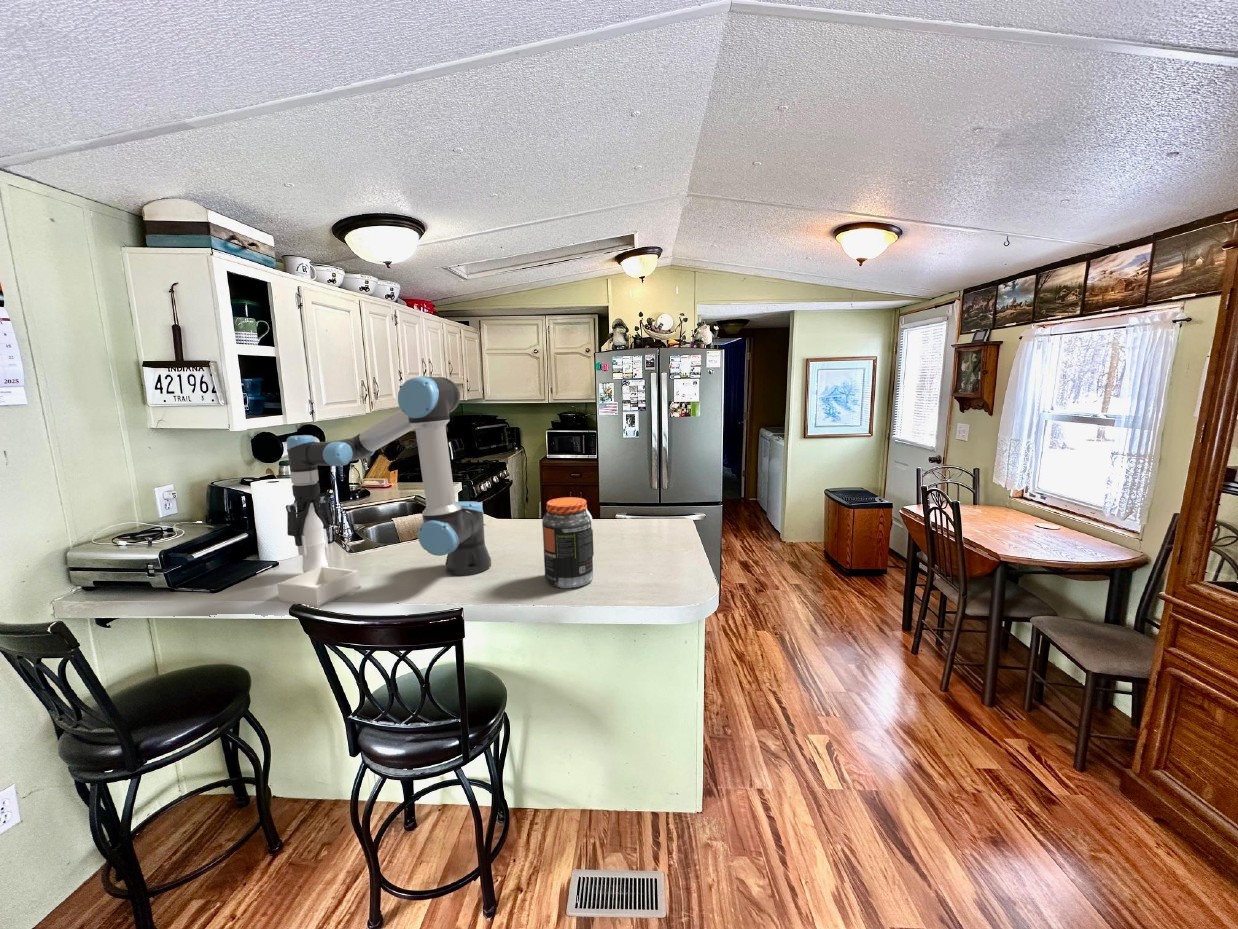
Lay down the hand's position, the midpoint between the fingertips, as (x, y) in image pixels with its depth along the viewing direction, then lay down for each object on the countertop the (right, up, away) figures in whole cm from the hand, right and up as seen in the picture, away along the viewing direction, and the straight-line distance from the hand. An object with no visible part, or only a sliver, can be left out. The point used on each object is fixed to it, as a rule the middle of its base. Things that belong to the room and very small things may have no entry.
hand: (313, 550), depth 166 cm
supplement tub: (+85, -9, -6) cm, 86 cm away
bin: (+11, -11, -14) cm, 20 cm away
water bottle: (0, -9, +1) cm, 9 cm away
